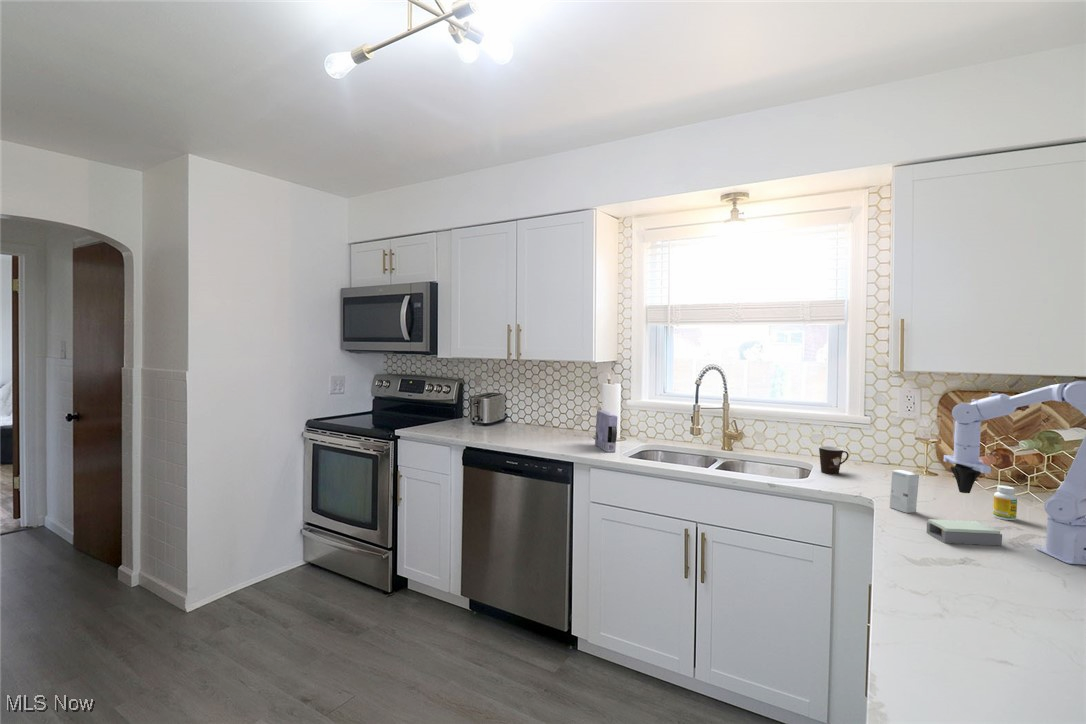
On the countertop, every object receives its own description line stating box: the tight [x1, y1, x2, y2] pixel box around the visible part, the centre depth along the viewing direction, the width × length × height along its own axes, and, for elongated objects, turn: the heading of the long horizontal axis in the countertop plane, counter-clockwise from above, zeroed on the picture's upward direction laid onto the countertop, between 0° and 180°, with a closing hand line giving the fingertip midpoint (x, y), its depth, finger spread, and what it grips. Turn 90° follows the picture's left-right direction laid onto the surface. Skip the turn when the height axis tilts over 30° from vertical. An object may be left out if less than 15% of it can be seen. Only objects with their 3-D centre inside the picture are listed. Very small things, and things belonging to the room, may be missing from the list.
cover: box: [928, 518, 1001, 534], centre depth 141 cm, size 7×13×1 cm, turn 85°
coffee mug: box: [818, 445, 849, 475], centre depth 214 cm, size 12×9×10 cm
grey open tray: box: [926, 521, 1003, 547], centre depth 141 cm, size 8×14×3 cm, turn 85°
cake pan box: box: [594, 409, 618, 453], centre depth 253 cm, size 19×5×18 cm, turn 12°
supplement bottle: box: [992, 484, 1018, 521], centre depth 160 cm, size 5×5×10 cm
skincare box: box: [889, 469, 920, 514], centre depth 166 cm, size 6×4×12 cm
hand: (964, 492), depth 149 cm, fingers closed
